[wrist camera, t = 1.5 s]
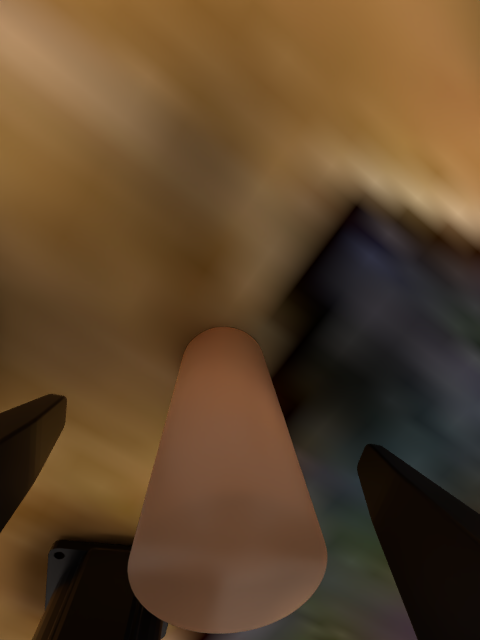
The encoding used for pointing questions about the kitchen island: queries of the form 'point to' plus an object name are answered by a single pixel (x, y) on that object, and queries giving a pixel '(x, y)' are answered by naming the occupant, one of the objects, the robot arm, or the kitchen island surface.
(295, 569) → the brown peg
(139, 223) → the kitchen island surface
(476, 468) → the kitchen island surface
